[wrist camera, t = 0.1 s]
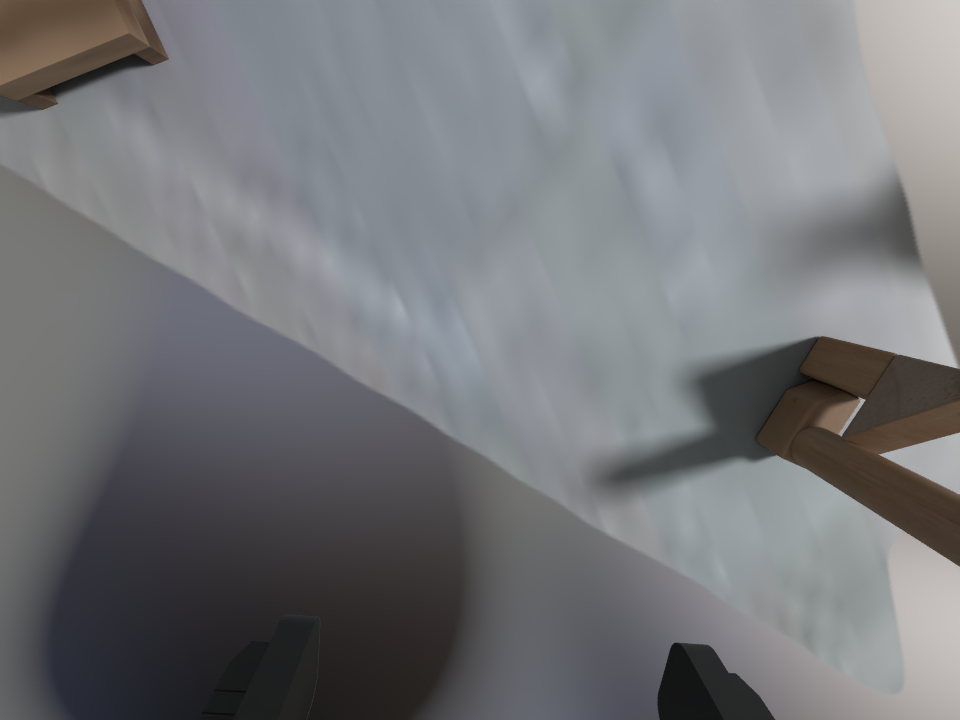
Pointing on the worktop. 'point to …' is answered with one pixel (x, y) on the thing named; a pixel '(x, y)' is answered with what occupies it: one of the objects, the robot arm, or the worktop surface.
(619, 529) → the worktop surface
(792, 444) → the wooden block
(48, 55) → the plate
